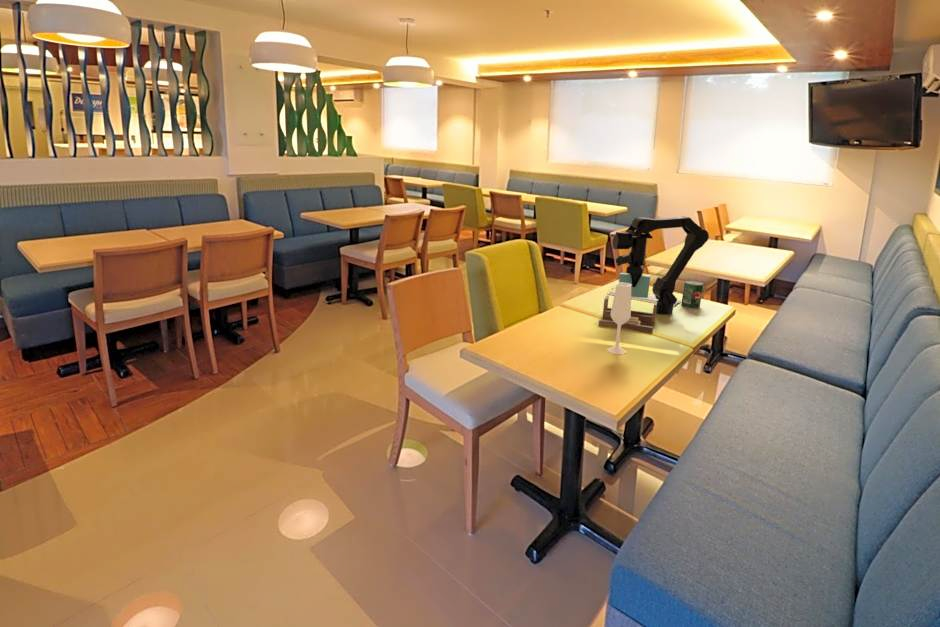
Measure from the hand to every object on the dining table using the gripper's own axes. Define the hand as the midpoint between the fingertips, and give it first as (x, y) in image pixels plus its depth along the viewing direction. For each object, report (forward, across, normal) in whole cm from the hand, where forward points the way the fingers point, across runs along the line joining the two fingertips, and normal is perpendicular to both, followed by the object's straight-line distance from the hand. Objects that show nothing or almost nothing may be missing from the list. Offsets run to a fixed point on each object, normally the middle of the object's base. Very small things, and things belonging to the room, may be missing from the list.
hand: (634, 286), depth 222 cm
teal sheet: (+4, 0, 0) cm, 4 cm away
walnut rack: (+13, +13, 0) cm, 18 cm away
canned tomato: (+13, -27, +24) cm, 38 cm away
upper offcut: (+10, +18, 0) cm, 20 cm away
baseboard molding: (+14, -30, +3) cm, 34 cm away
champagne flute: (+13, +44, -1) cm, 46 cm away
